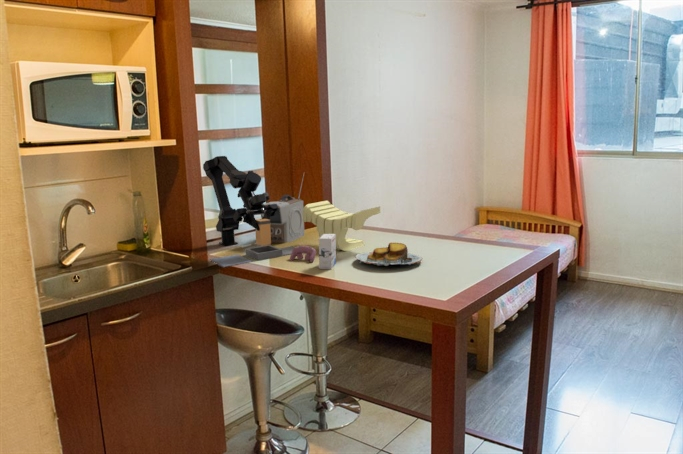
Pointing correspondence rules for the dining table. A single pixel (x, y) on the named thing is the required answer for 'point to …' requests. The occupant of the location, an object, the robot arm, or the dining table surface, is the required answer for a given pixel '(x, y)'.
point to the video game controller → (303, 249)
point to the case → (268, 252)
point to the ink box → (327, 251)
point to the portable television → (287, 219)
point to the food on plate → (389, 255)
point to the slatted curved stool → (337, 222)
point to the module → (263, 232)
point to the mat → (230, 260)
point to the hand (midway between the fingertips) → (264, 229)
